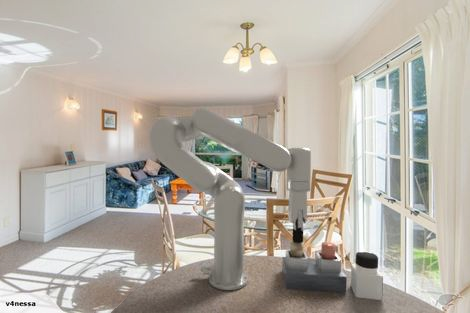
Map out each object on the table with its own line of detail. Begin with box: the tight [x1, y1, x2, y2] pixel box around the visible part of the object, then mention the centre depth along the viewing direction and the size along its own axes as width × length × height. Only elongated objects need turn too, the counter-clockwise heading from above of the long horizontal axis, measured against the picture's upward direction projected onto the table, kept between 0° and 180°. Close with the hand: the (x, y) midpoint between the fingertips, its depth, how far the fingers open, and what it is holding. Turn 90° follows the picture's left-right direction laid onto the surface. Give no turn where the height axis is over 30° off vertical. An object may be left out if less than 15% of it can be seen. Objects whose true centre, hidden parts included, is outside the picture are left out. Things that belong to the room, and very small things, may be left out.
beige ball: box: [289, 240, 305, 258], centre depth 86 cm, size 4×4×4 cm
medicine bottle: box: [350, 250, 384, 301], centre depth 79 cm, size 7×7×12 cm
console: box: [281, 249, 348, 294], centre depth 86 cm, size 18×12×9 cm, turn 84°
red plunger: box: [320, 241, 336, 259], centre depth 85 cm, size 4×4×4 cm
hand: (297, 241), depth 86 cm, fingers closed
